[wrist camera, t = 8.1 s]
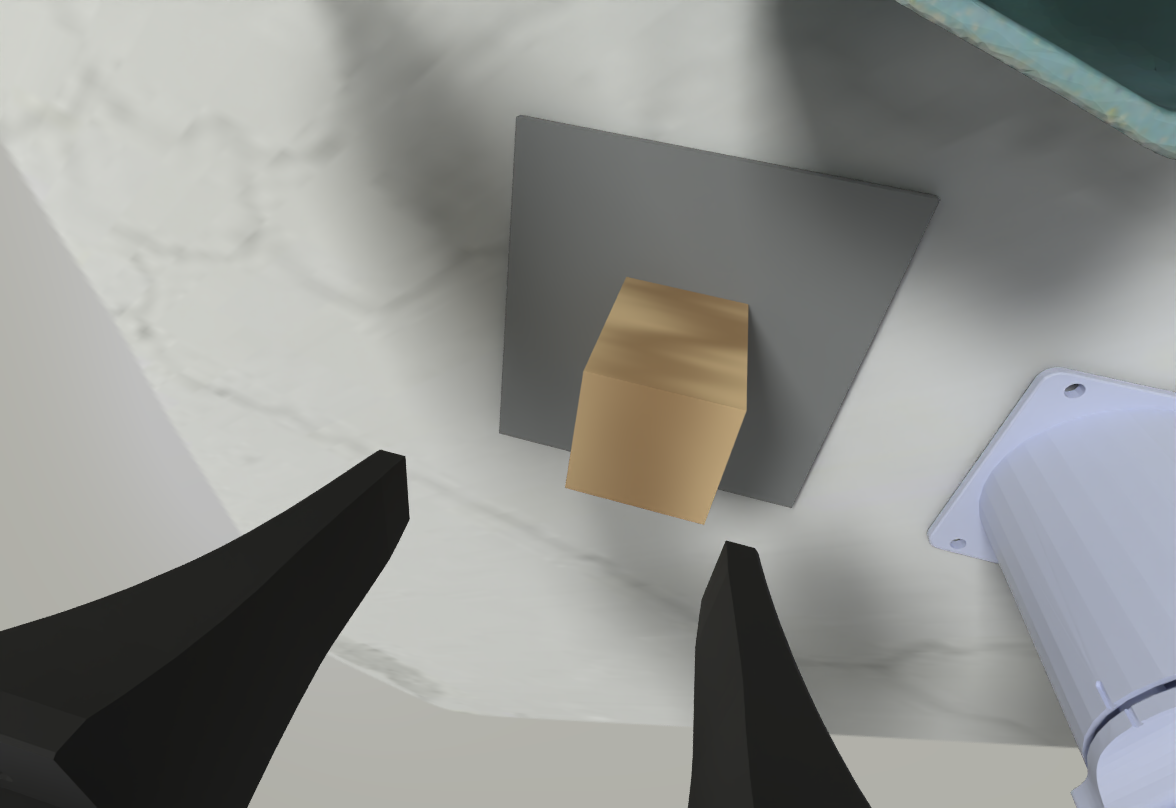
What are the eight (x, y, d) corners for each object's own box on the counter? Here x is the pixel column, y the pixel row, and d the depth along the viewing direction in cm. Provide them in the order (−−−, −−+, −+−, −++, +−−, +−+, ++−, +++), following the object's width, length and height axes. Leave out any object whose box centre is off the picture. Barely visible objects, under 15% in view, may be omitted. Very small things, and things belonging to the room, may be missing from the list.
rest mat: (936, 195, 16) (940, 199, 16) (790, 500, 23) (791, 507, 23) (520, 115, 17) (515, 117, 17) (502, 427, 25) (499, 433, 24)
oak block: (748, 304, 19) (746, 410, 14) (715, 404, 21) (703, 524, 16) (626, 276, 19) (583, 370, 14) (607, 377, 22) (565, 487, 17)
